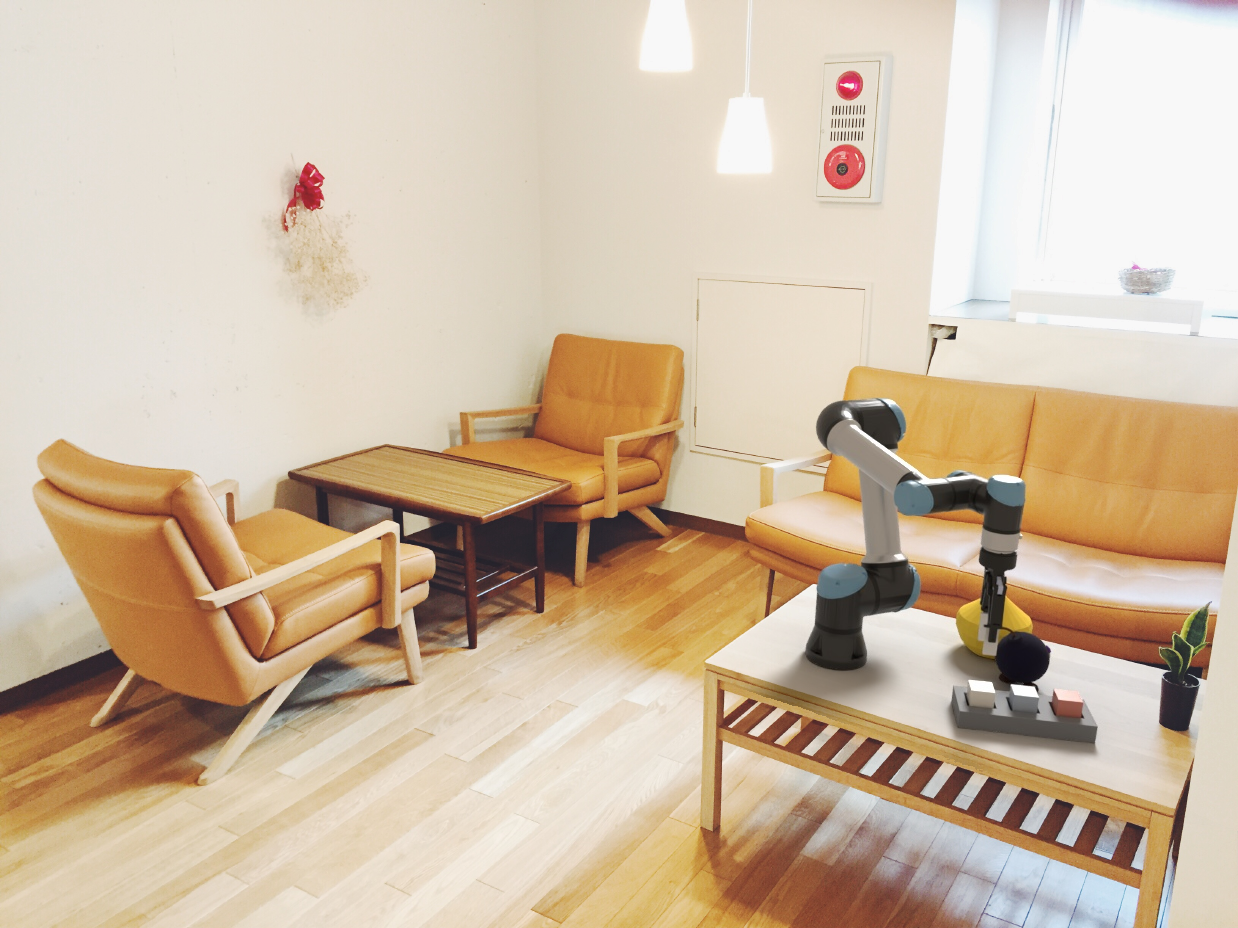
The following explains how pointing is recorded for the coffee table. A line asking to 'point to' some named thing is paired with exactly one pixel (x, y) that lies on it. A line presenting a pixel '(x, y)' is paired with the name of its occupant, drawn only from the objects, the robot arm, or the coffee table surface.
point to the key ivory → (980, 694)
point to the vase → (971, 619)
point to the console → (1023, 718)
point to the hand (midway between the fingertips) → (986, 646)
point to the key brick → (1067, 703)
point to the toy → (1022, 658)
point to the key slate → (1023, 698)
